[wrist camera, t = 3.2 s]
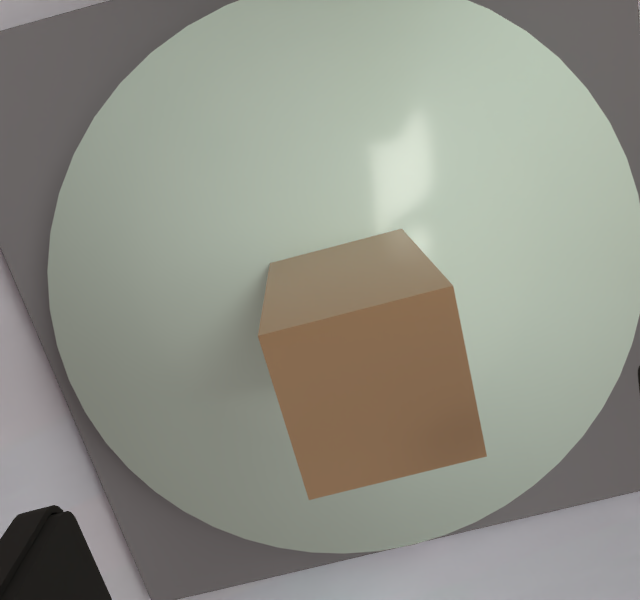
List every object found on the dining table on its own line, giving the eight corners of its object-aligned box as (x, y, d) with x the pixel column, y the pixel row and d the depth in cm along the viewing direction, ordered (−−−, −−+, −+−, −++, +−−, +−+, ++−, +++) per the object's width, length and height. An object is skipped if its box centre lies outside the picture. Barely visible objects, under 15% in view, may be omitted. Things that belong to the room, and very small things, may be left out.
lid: (-35, 83, 17) (-258, 64, 10) (590, -92, 16) (805, -239, 9) (171, 579, 22) (117, 785, 16) (647, 463, 22) (810, 626, 15)
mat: (-70, 55, 17) (-83, 54, 17) (614, -135, 17) (625, -143, 16) (156, 593, 23) (153, 604, 23) (667, 472, 23) (677, 481, 22)
